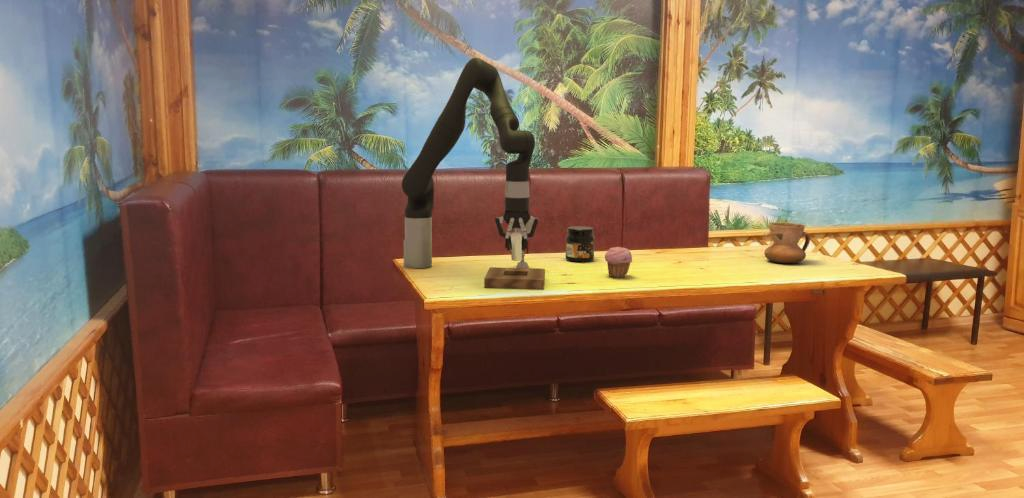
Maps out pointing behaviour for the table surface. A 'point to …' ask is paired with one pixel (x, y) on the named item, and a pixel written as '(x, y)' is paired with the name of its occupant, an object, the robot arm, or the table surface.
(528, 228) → the chalice
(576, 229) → the supplement container
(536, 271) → the well block
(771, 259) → the ceramic jug
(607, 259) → the cupcake
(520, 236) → the milkshake
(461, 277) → the table surface
